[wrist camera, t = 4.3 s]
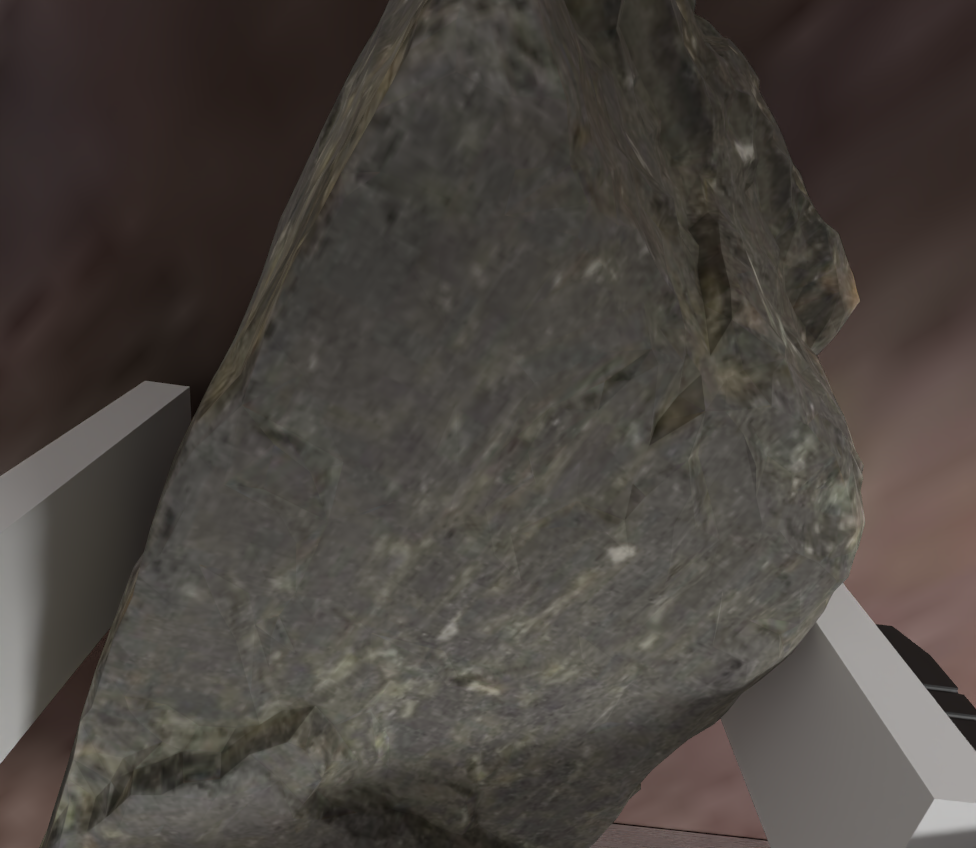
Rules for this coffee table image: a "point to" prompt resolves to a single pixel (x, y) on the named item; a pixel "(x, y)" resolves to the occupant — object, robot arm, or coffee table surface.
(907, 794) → the robot arm
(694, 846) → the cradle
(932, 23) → the coffee table surface
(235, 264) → the coffee table surface
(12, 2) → the coffee table surface
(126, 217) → the coffee table surface
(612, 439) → the rock
